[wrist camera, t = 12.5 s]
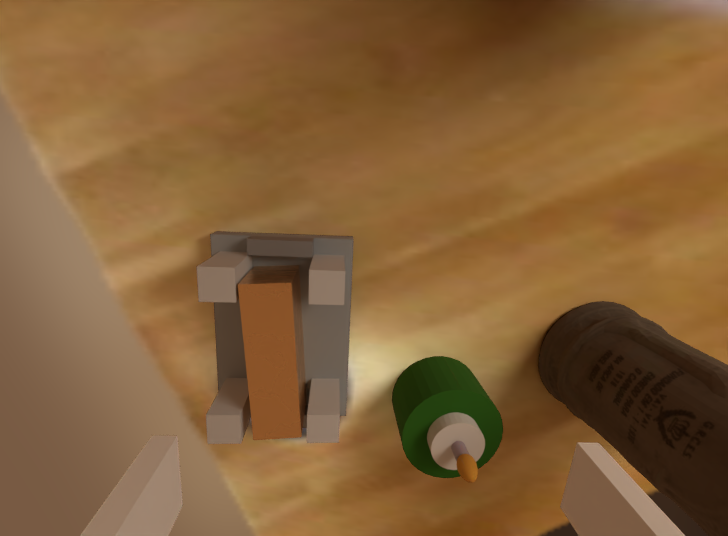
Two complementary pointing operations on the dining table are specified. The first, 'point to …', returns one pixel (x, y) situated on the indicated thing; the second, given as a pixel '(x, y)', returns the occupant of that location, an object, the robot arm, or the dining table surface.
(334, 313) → the jig
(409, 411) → the candle
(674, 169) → the dining table surface
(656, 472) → the beer stein
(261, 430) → the block
